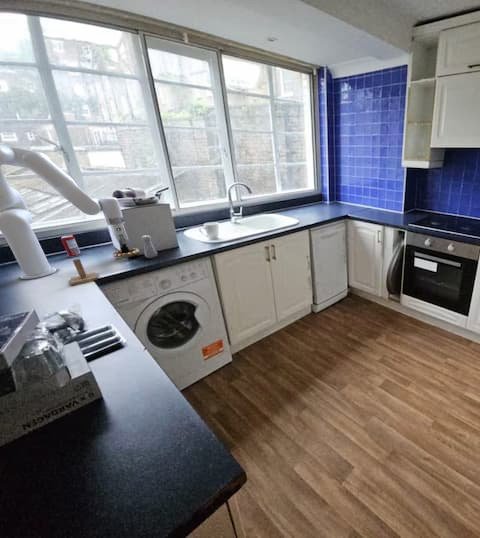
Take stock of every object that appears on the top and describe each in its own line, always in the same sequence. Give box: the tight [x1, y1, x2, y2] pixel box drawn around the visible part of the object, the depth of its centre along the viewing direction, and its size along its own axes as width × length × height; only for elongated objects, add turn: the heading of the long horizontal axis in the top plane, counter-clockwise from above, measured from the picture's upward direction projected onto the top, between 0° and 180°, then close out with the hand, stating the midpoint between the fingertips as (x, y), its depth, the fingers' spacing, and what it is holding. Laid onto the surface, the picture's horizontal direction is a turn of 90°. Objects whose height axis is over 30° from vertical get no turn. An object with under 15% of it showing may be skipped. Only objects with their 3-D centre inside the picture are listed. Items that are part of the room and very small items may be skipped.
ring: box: [112, 247, 141, 259], centre depth 161 cm, size 12×12×2 cm
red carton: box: [60, 234, 82, 258], centre depth 169 cm, size 6×6×12 cm
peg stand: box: [70, 258, 99, 287], centre depth 136 cm, size 9×9×10 cm
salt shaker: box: [140, 235, 158, 259], centre depth 160 cm, size 6×6×13 cm
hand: (125, 252), depth 165 cm, fingers closed on ring, 2 cm apart
